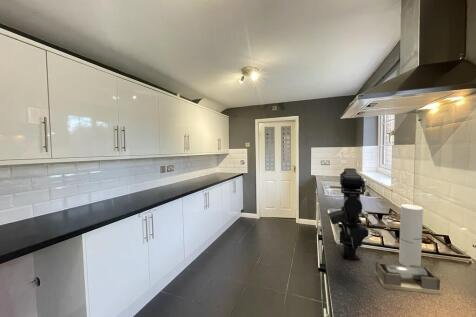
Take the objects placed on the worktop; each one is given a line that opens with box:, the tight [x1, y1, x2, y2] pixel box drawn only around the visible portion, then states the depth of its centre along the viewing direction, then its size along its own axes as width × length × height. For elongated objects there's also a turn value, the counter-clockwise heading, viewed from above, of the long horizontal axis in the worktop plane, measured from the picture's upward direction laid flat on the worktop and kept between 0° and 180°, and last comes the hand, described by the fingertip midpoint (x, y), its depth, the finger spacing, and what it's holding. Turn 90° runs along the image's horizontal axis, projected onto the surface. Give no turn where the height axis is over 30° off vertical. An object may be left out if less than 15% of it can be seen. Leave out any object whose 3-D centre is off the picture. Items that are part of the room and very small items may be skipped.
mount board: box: [374, 270, 442, 295], centre depth 76 cm, size 8×17×1 cm, turn 77°
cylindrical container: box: [398, 203, 424, 267], centre depth 87 cm, size 7×7×25 cm
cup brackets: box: [375, 261, 441, 291], centre depth 76 cm, size 8×17×4 cm, turn 77°
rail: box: [384, 264, 428, 280], centre depth 76 cm, size 12×4×4 cm, turn 77°
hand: (351, 243), depth 83 cm, fingers open, 9 cm apart
